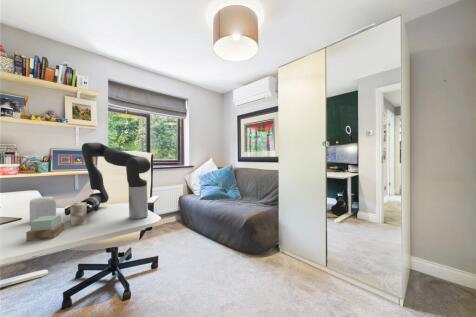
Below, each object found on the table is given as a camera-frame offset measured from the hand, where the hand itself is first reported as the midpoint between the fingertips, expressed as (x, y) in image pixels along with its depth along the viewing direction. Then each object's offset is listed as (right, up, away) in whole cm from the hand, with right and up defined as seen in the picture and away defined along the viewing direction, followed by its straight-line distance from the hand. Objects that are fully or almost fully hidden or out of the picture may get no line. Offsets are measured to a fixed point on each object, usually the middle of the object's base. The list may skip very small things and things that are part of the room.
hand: (77, 212), depth 101 cm
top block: (-3, -3, -13) cm, 14 cm away
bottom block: (-3, -7, -13) cm, 15 cm away
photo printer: (-23, -6, +7) cm, 25 cm away
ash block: (-1, -6, +2) cm, 6 cm away
